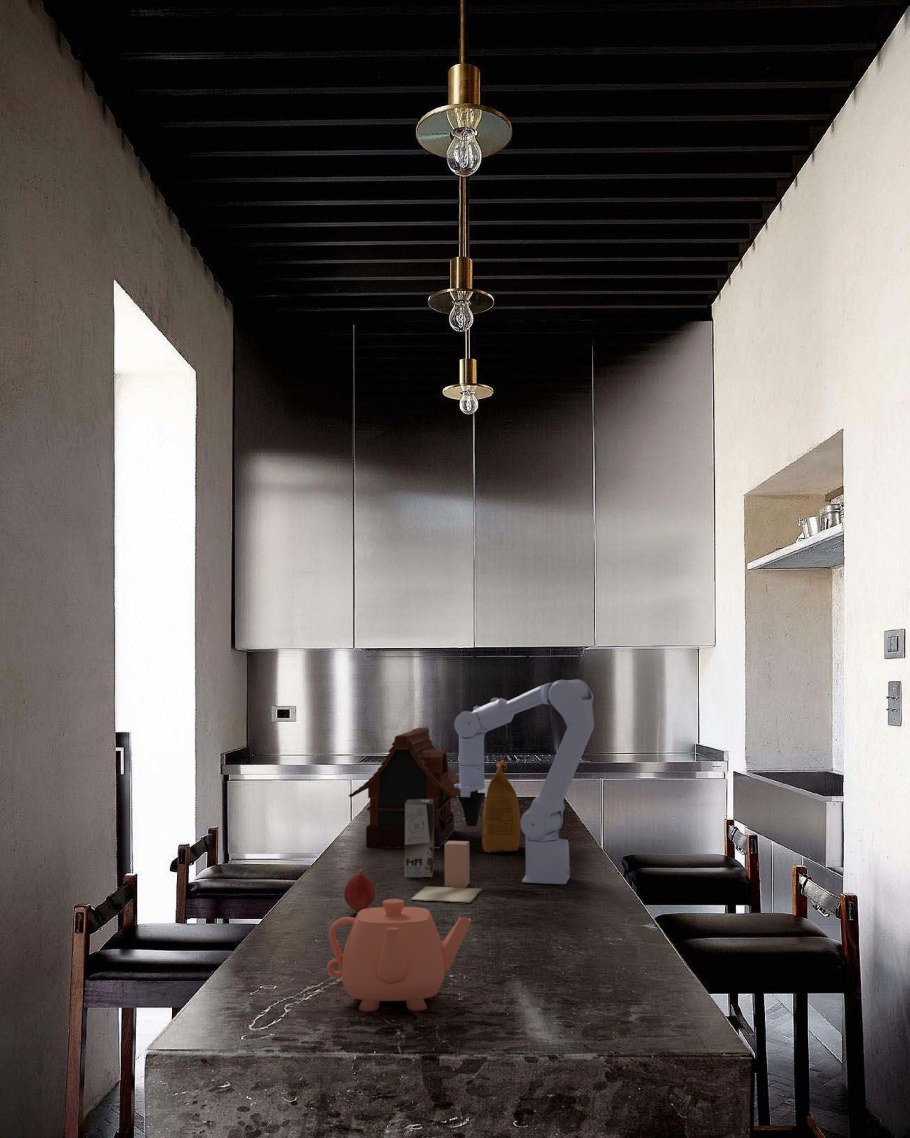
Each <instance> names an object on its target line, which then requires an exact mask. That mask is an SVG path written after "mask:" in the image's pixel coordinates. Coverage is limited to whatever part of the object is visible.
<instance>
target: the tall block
mask: <svg viewBox="0 0 910 1138" xmlns="http://www.w3.org/2000/svg"><path fill="white" fill-rule="evenodd" d="M469 883H470V841H469V840H467V841H466V840H464V841H463V840H447V841H445V843H444V887H445V886H451V887H466V886H467V885H468V884H469Z"/></svg>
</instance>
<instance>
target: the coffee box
mask: <svg viewBox="0 0 910 1138" xmlns="http://www.w3.org/2000/svg"><path fill="white" fill-rule="evenodd" d="M434 868H435V849H434V799H415V800H407V801H406V803H405V848H404V878H423V877H431V878H433V876H434V875H433V874H434V870H435V869H434Z"/></svg>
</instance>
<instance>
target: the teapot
mask: <svg viewBox="0 0 910 1138" xmlns="http://www.w3.org/2000/svg"><path fill="white" fill-rule="evenodd" d="M382 905H383V906H381V907H378V906H377V907H367V908H366V909H362V910H361V911H359V912H358V913H357V915H356V916H355V917H352V916H343V917H340V918H338V919H337V920H335V921H334V922H333V923H332V924H331V925H330V927H329V930H328V941H329V944H330V947H331V951H332V953H333V956H334V957H335V958H332V959H331V960H330V961H328V963H327V965H326V972H327V974H328V976H329V977H331V978H332V979H341V980H342V984H343V987H344V989H345V990H346V993H347V994H348V996H349V997H350V998H352V999H356V1000H362V1001H361V1002H360V1005H358V1010H359V1011H361V1012H374V1011H377V1010H379V1007H380V1002H401V1001H405V1003H406V1007H407V1009H408V1010H410V1011H417V1012H419V1011H424V1010H425V1009H428V1006H427V1004H426V1002H425V999H429V998H432V997H435V996H436V995H437V994H438V992H439V990H440V989H441V986H442V985H443V981H444V978H445V975H446V972H449V971H450V969H451V966H452V964H453V963H454V960H455V958H456V957H457V954H458V952H459V949H460V947H461V945H462V943H463V941H464V939H465V936H466V934H467V932H468V930H469V928H470V925H471V924H472V919H471V918H470V917H461V916H460V917H458V919H457V921H456V922H455V924H454V925H453V926H452V928H451V930H450V931H449V932H448V934H447V935H446V937H445V939H444V940H443V941H441V937H440V935H439V931H438V928H437V926H436V924H435V921H434V918H433V916H432V914H431V912H430V911H429V909H428V908H426V907H419V906H418V907H417V906H416V907H415V906H405V900H403V899H400V898H391V899H390V898H388V899H385V900H383V901H382ZM343 925H351V929H350V931H349V933H348V936H347V939H346V942H345V945H344V950H343V954H342V951H341V949H340V946H339V944H338V940H337V929H338V928H339V927H341V926H343ZM334 965H338V970H335V969H334V968H333V967H334Z"/></svg>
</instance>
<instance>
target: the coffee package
mask: <svg viewBox="0 0 910 1138" xmlns="http://www.w3.org/2000/svg"><path fill="white" fill-rule="evenodd" d="M495 766H496V768H497V769H496V771H495V774H494V776H493V777H492V778H491V780H490V782H489V785H488V787H487V791H486V794H485V798H484V805H483V810H482V811H483V812H482V821H481V824H482V825H481V846H482V849H483V851H484V852H485V853H486V852H488V853H487V854H492V853H491V852H498V853H509V852H510V853H511V852H515V851H518V850H519V847H520V846H519V845H520V839H521V825H520V821H521V812H520V807H519V801H518V796H517V795H518V794H517V793H516V790H515V789H514V787H513V786H512V783H511V782H510V781H509V779H508V777H506V775H505V772H506V771H507V770H508V768H507V767H508V765H507V763H506V762H505V761H504V760H500V761H499V762H497V763H496V764H495Z"/></svg>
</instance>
